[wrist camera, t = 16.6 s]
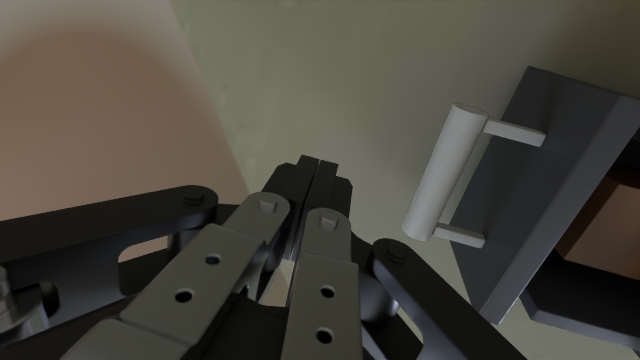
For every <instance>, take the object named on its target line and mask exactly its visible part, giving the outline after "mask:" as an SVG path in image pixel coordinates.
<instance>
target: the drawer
mask: <svg viewBox="0 0 640 360" xmlns="http://www.w3.org/2000/svg"><path fill="white" fill-rule="evenodd" d="M481 130H482V131H483V132H486V133H489V134H493V137H492V139H491V141H490V143H489V145H488V147H487V149H486V151H485V153H484V155H483V157H482V159H481V161H480V163H479V165H478V167H477V169H476V171H475V173H474V175H473V177H472V179H471V181H470V183H469V185H468V187H467V189H466V191H465V193H464V195H463V197H462V199H461V201H460V203H459V205H458V207H457V209H456V211H455V213H454V215H453V217H452V219H451V221H450V223H449V225H447V224H443V223H440V222H438V220H439V218H440V216H441V214H442V212H443V210H444V208H445V206H446V204H447V201H448V199H449V197H450V195H451V193H452V191H453V189H454V187H455V185H456V183H457V181H458V178H459V176H460V174H461V172H462V170H463V168H464V166H465V164H466V162H467V160H468V158H469V155H470V153H471V151H472V149H473V147H474V145H475V143H476V141H477V139H478V137H479V135H480V132H481ZM615 161H616V162H619V163H623V164H627V165H631V166H634V167H638V168H640V98H638V97H635V96H631V95H628V94H625V93H621V92H618V91H615V90H611V89H608V88H604V87H601V86H598V85H594V84H591V83H588V82H584V81H581V80H577V79H574V78H571V77H567V76H564V75H560V74H557V73H554V72H550V71H547V70H543V69H539V68H535V67H531V66H528V67H527V69H526V71H525V73H524V75H523V77H522V79H521V81H520V83H519V85H518V87H517V89H516V91H515V93H514V95H513V97H512V99H511V101H510V103H509V105H508V107H507V109H506V111H505V113H504V115H503V117H502V119H501V121H500V120H496V119H493V118H489V117H488V114H487V113H486V112H484V111H482V110H480V109H477V108H475V107H472V106H468V105H464V104H459V103H454V104H453V105H452V107H451V110H450V112H449V114H448V117H447V119H446V122H445V124H444V126H443V129H442V131H441V134H440V136H439V138H438V141H437V143H436V145H435V148H434V150H433V153H432V155H431V157H430V160H429V162H428V165H427V167H426V169H425V172H424V174H423V176H422V179H421V181H420V184H419V186H418V188H417V191H416V193H415V196H414V198H413V200H412V203H411V205H410V207H409V210H408V212H407V215H406V217H405V219H404V222H403V224H402V229H403V231H404V232H405V233H406V234H407V235H409V236H410V237H412V238H414V239H417V240H423V241H425V240H428V239H429V238H430V237H431V235H432V234H433V235H434V236H437V237H441V238H445V239H448V240H450V243H451V246H452V249H453V252H454V255H455V258H456V261H457V264H458V267H459V270H460V273H461V276H462V279H463V282H464V285H465V288H466V290H467V293H468V296H469V299H470V302H471V305H472V307H473V308H474V309H475V310H476V311H477V312H478V313H479V314H480V315H481V316H482V317H484V318H485V319H486V320H487V321H488V322H490V323H493V324H497V325H499V324H500V322H501V321H502V319H503V318H504V317H505V315H506V314H507V312H508V311H509V310H510V308H511V307H512V305H513V304H514V303H515V301H516V300H517V298H518V297H519V298H520V300H521V302H522V304H523V306H524V307H525V309H526V311H527V313H528V315H529V317H530V319H531V320H533V321H536V322H540V323H543V324H547V325H550V326H554V327H557V328H561V329H564V330H568V331H571V332H575V333H579V334H582V335H586V336H589V337H593V338H596V339H600V340H603V341H607V342H610V343H614V344H617V345H621V346H625V347H628V348H632V349H635V350H639V351H640V280H636V279H633V278H629V277H625V276H622V275H618V274H614V273H611V272H607V271H604V270H600V269H596V268H593V267H589V266H586V265H582V264H578V263H575V262H571V261H568V260H564V259H563V258H562V257H561V255H560V254H559V253H558V251H557V250H556V249H555V248H554V246H555V245H556V243H557V242H558V241H559V239H560V238H561V236H562V235H563V234H564V232H565V231H566V229H567V228H568V227H569V225H570V224H571V222H572V221H573V219H574V218H575V217H576V215H577V214H578V212H579V211H580V210H581V208H582V207H583V205H584V204H585V203H586V201H587V200H588V198H589V197H590V196H591V194H592V193H593V191H594V190H595V188H596V187H597V186H598V184H599V183H600V181H601V180H602V179H603V177H604V176H605V174H606V173H607V172H608V170H609V169H610V167H611V166H612V165H613V163H614V162H615Z"/></svg>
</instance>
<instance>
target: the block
mask: <svg viewBox="0 0 640 360" xmlns="http://www.w3.org/2000/svg"><path fill="white" fill-rule="evenodd" d="M554 248H555V249H556V250H557V251H558V253H559V254H560V255H561V257H562V258H563V259H564V260H568V261H571V262H575V263H578V264H582V265H586V266H589V267H593V268H596V269H600V270H604V271H607V272H611V273H614V274H618V275H622V276H625V277H629V278H633V279H636V280H640V168H638V167H634V166H631V165H627V164H623V163H619V162H616V161H615V162H614V163H613V165H612V166H611V167H610V169H609V170H608V172H607V173H606V174H605V176H604V177H603V179H602V180H601V181H600V183H599V184H598V186H597V187H596V188H595V190H594V191H593V193H592V194H591V196H590V197H589V198H588V200H587V201H586V203H585V204H584V205H583V207H582V208H581V210H580V211H579V212H578V214H577V215H576V217H575V218H574V219H573V221H572V222H571V224H570V225H569V227H568V228H567V229H566V231H565V232H564V234H563V235H562V236H561V238H560V239H559V241H558V242H557V243H556V245H555V246H554Z"/></svg>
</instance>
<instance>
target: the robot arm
mask: <svg viewBox="0 0 640 360" xmlns="http://www.w3.org/2000/svg"><path fill="white" fill-rule="evenodd" d="M319 160H320V159H317V158H313V157H310V156H306V155H301V157H300V159H299V161H298V163H297V165H294V164H290V163H284V164H281V165H279V166H277V168H276V169H275V171H274V173H273V174H272V175H271V177H270V179H269V180H268V182H267V183H266V185H265V186H264V188H263V189H262V191H261V192H256V193H253V194H251V195H249V196H248V197H247V198H246V199H245V200H244V201H243V202H242V203H241V204H240V205H231V204H218V195H217V194H216V193H215V192H214V191H213V190H211V189H209V188H207V187H203V186H197V185H187V186H181V187H176V188H170V189H166V190H160V191H155V192H149V193H145V194H140V195H134V196H129V197H123V198H118V199H113V200H108V201H103V202H97V203H92V204H87V205H82V206H77V207H72V208H66V209H61V210H56V211H51V212H46V213H41V214H35V215H30V216H25V217H19V218H14V219H9V220H4V221H0V360H527V359H526V358H525V357H524V356H523V355H522V354H521V353H520V352H519V351H518V350H517V349H516V348H515V347H514V346H513V345H512V344H511V343H510V342H509V341H508V340H507V339H505V338H504V337H503V336H502V335H501V334H500V333H499V332H498V331H497V330H496V329H495V328H494V327H493V326H492V325H491V324H490V323H489V322H488V321H487V320H486V319H485V318H484V317H482V316H481V315H480V314H479V313H478V312H477V311H476V310H475V309H474V308H473V307H472V306H471V305H470V304H469V303H468V302H467V301H466V300H465V299H464V298H463V297H462V296H461V295H459V294H458V293H457V292H456V291H455V290H454V289H453V288H452V287H451V286H450V285H449V284H448V283H447V282H446V281H445V280H444V279H443V278H442V277H441V276H440V275H439V274H438V273H436V272H435V271H434V270H433V269H432V268H431V267H430V266H429V265H428V264H427V263H426V262H425V261H424V260H423V259H422V258H421V257H420V256H419V255H418V254H417V253H416V252H415V251H413V250H412V249H411V248H410V247H409V246H407V245H406V244H404V243H402V242H400V241H397V240H394V239H388V238H383V239H379V240H377V241H375V242H374V243H373V245H371V244H369V243H367V242H365V241H363V240H362V239H360V238H359V237H357V236H356V235H355V234H354V233H353V232H352V231H351V224H350V221H349V212H350V204H351V196H352V188H353V186H352V185H351V183H350V181H349V180H348V179H346V178H342V177H338V176H336V172H337V168H338V164H336V163H332V162H328V161H325V160H321V161H320V164H319ZM318 165H319V166H318ZM166 235H168V243H167V244H168V247H167V248H166V249H162V250H159V251H156V252H153V253H149V254H146V255H143V256H140V257H137V258H133V259H130V260H127V261H124V262H121V263H118V257H119V255H120V254H121V252H122V251H124V250H125V249H126V248H127V247H130V246H132V245H135V244H139V243H142V242H146V241H149V240H153V239H156V238H160V237H163V236H166ZM294 244H295V246H294ZM293 247H294V250H293ZM292 250H293V254H292V258H291V261H294V262H295V265H294V269H293V273H292V277H291V281H290V286H289V291H288V296H287V301H286V305H285V307H276V306H264V305H261V303H262V301H263V299H264V297H265V295H266V293H267V291H268V289H269V287H270V285H271V283H272V281H273V279H274V277H275V275H276V270H277V267H278V266H279V265H280V262H281V260H282V258H283V259H287V260H289V258H290V256H291V253H292ZM400 306H401V308H402V309H403V310H404V311H405V312H406V314H407V315H408V316H409V317H410V318H411V319H412V321H413V322H414V323H415V324H416V325H417V327H418V328H419V330H420V331H421V333H422V336H423V341H424V344H422V343H421V341H420V340H419V339H418V338H417V336H416V335H415V334H414V333H413V332H412V330H411V329H410V328H409V327H408V326H407V324H406V323H405V322H404V321H403V319H402V318H401V317H400V316H399V315H398V313H397V311H398V309H399V307H400ZM362 343H363V345H364V346H365V348H366V349H367V350H366V349H365V348H364V347H363V345H362Z"/></svg>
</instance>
